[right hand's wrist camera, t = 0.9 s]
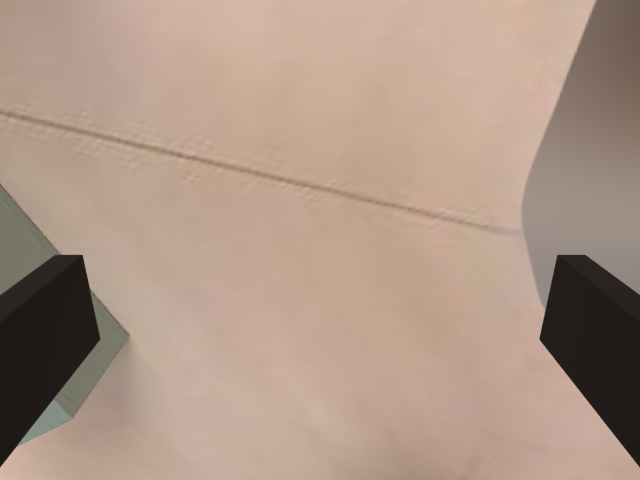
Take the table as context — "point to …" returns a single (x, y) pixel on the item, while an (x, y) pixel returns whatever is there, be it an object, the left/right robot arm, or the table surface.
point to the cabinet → (34, 249)
